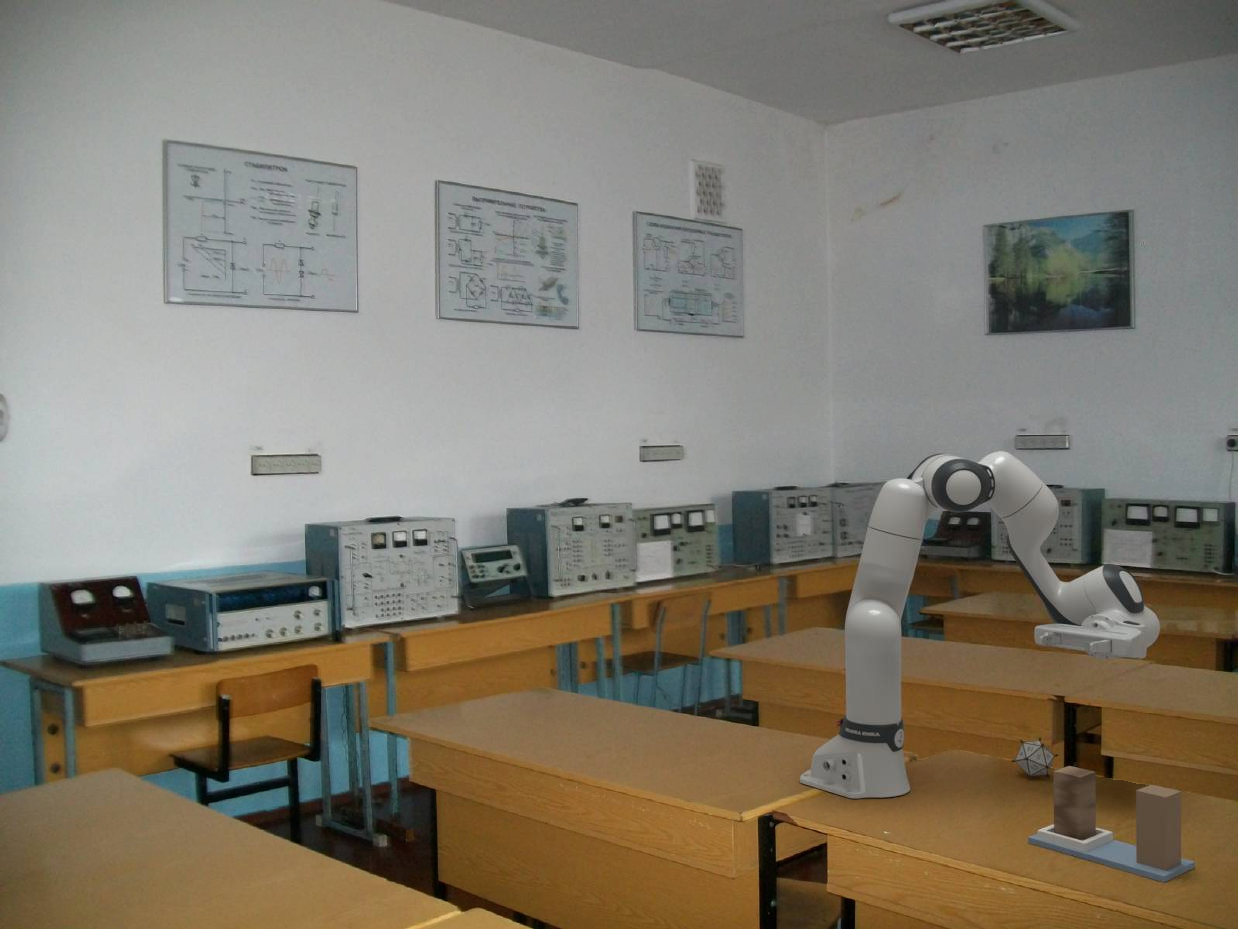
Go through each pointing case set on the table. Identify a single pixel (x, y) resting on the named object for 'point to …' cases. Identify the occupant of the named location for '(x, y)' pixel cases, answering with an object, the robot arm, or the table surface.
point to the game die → (1034, 758)
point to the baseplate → (1119, 859)
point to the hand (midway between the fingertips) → (1065, 644)
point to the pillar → (1075, 802)
